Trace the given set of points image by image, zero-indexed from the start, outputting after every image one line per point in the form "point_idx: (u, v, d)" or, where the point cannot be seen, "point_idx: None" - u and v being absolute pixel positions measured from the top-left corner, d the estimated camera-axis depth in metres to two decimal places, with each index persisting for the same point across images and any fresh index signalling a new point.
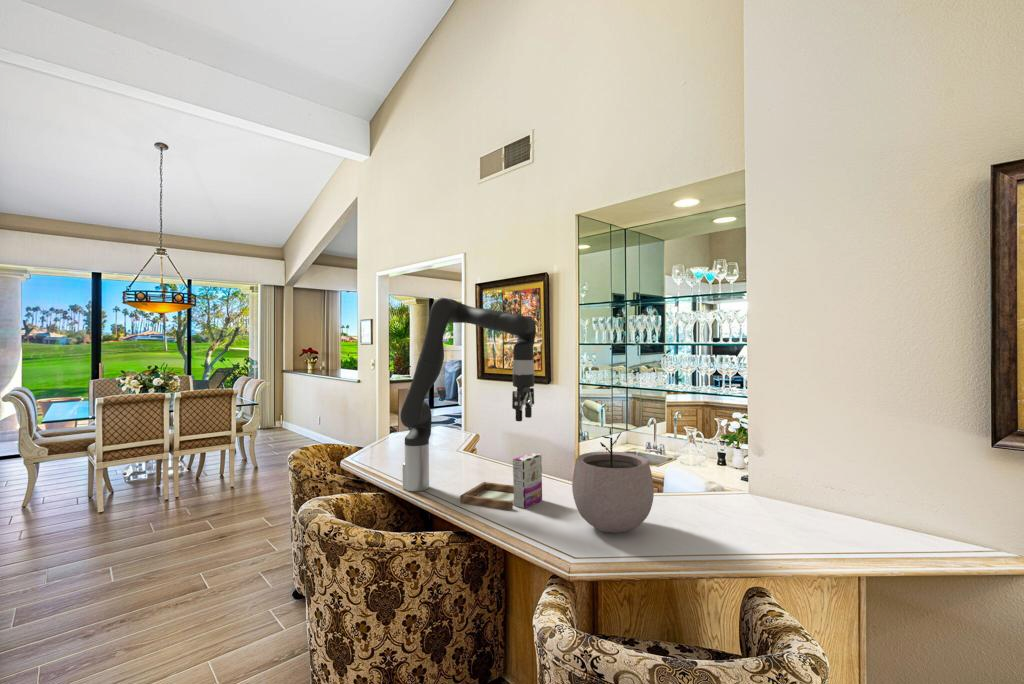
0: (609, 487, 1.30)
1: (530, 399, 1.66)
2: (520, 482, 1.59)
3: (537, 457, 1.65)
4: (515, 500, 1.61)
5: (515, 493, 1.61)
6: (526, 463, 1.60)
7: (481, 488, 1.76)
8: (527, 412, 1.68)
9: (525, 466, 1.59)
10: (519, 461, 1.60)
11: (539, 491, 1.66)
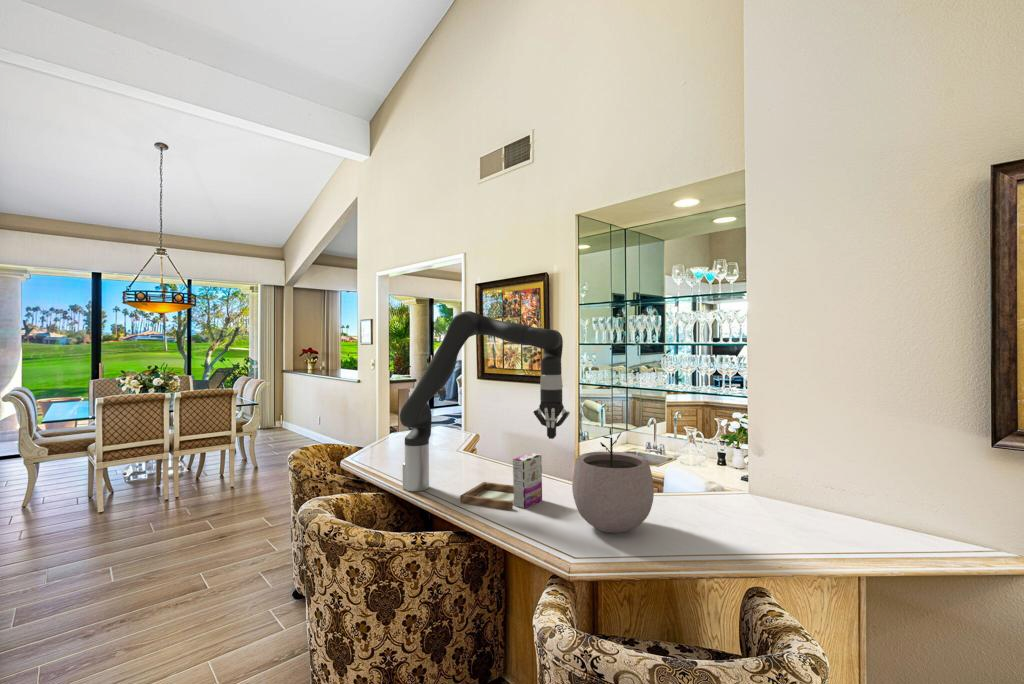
0: (609, 487, 1.30)
1: None
2: (520, 482, 1.59)
3: (537, 457, 1.65)
4: (515, 500, 1.61)
5: (515, 493, 1.61)
6: (526, 463, 1.60)
7: (481, 488, 1.76)
8: None
9: (525, 466, 1.59)
10: (519, 461, 1.60)
11: (539, 491, 1.66)
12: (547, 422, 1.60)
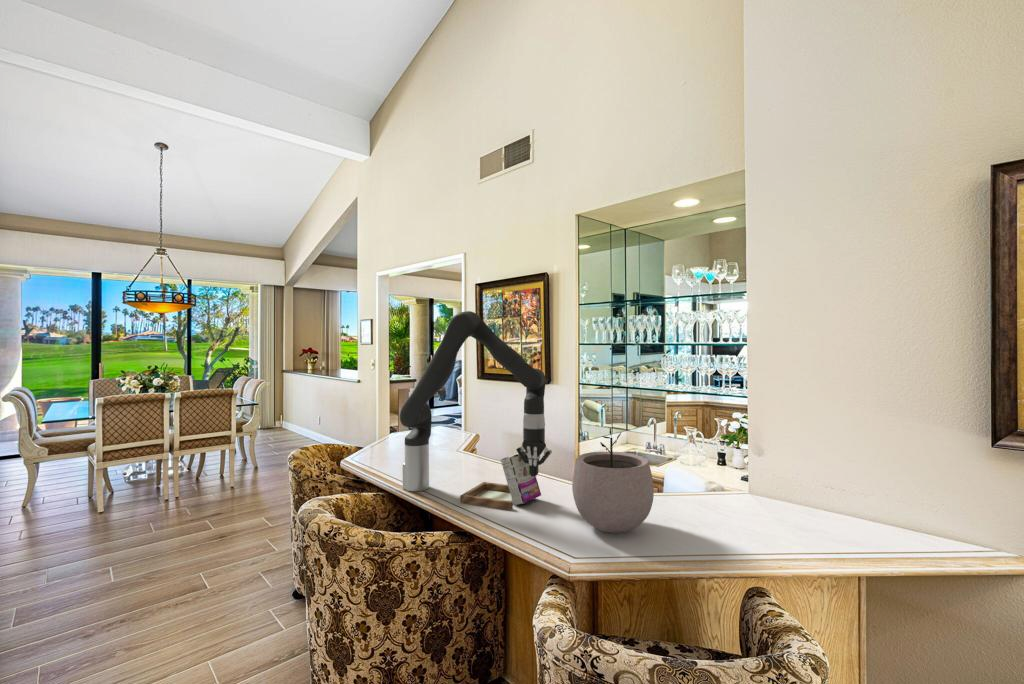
0: (609, 487, 1.30)
1: None
2: (513, 479, 1.61)
3: None
4: (513, 499, 1.61)
5: (511, 492, 1.62)
6: (514, 459, 1.63)
7: (481, 488, 1.76)
8: None
9: (513, 462, 1.62)
10: (507, 459, 1.63)
11: (536, 487, 1.67)
12: (529, 460, 1.63)
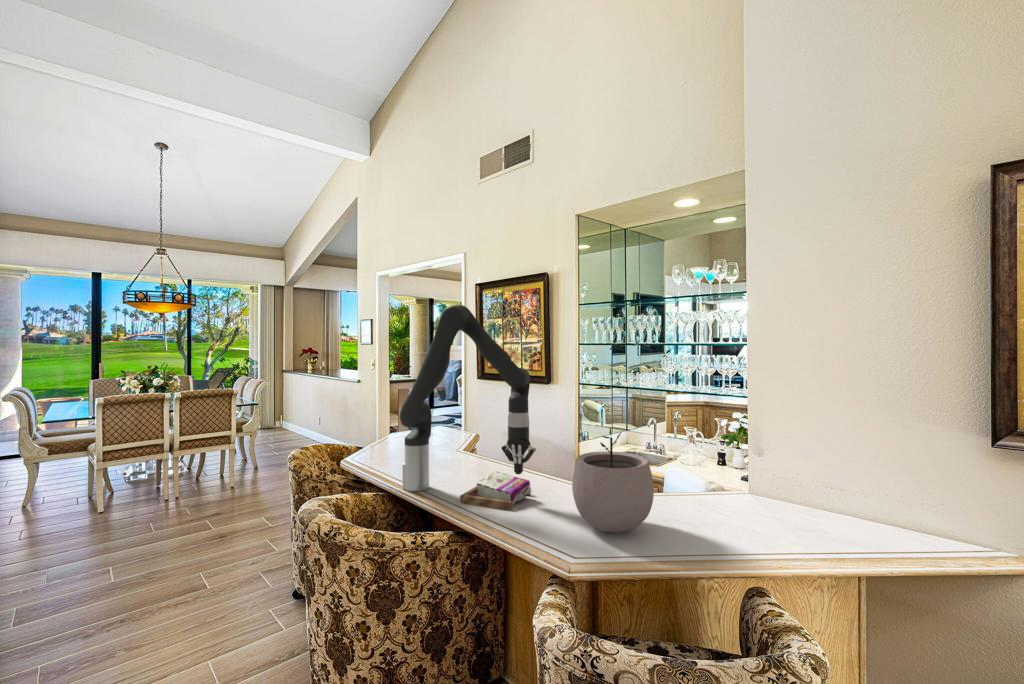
0: (609, 487, 1.30)
1: None
2: (491, 491, 1.66)
3: (492, 474, 1.76)
4: None
5: None
6: (481, 482, 1.71)
7: None
8: None
9: (482, 483, 1.70)
10: (477, 487, 1.70)
11: (519, 480, 1.69)
12: (514, 458, 1.65)
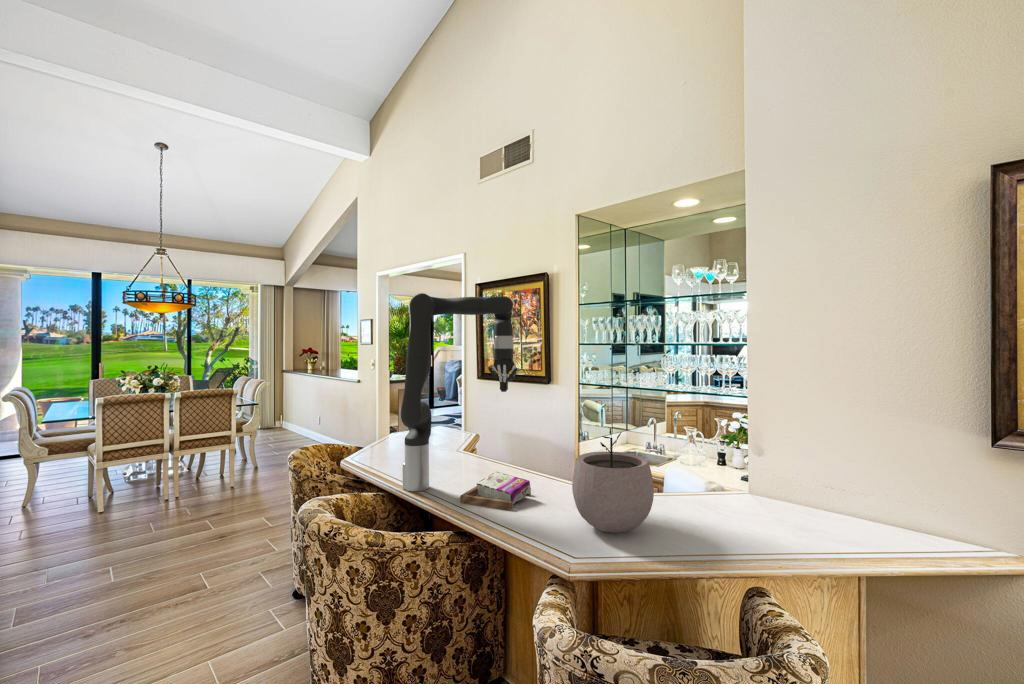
0: (609, 487, 1.30)
1: None
2: (491, 491, 1.66)
3: (492, 474, 1.76)
4: None
5: None
6: (481, 482, 1.71)
7: None
8: None
9: (482, 483, 1.70)
10: (477, 487, 1.70)
11: (519, 480, 1.69)
12: (500, 377, 1.84)
